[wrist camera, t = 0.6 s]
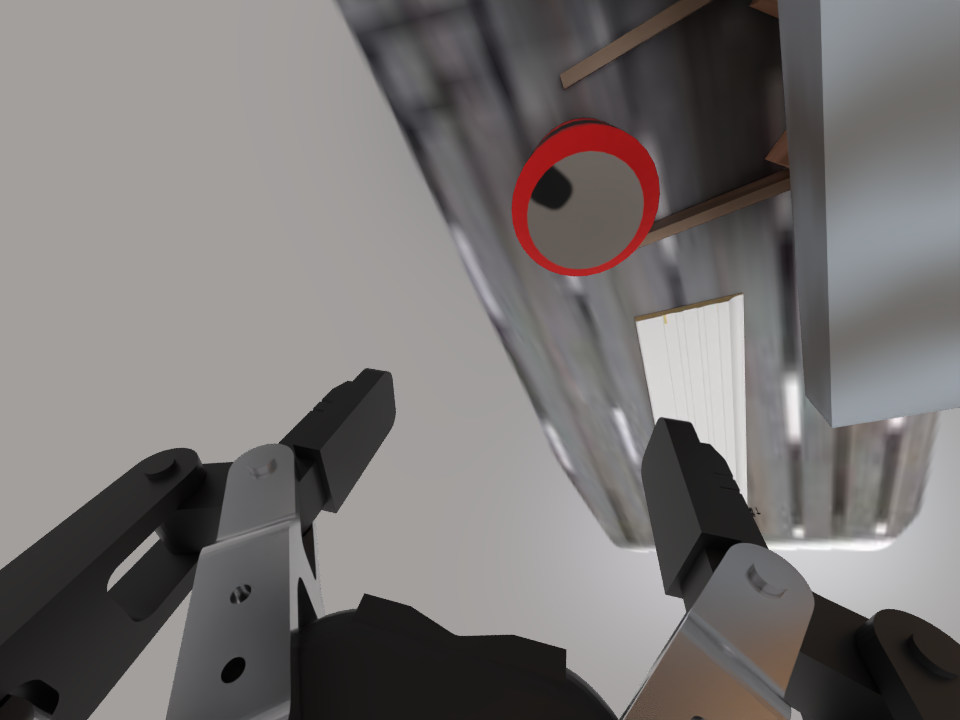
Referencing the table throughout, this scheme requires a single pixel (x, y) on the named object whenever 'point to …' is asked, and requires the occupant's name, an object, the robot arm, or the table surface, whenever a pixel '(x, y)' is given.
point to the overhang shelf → (860, 195)
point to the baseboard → (700, 373)
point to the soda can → (585, 198)
